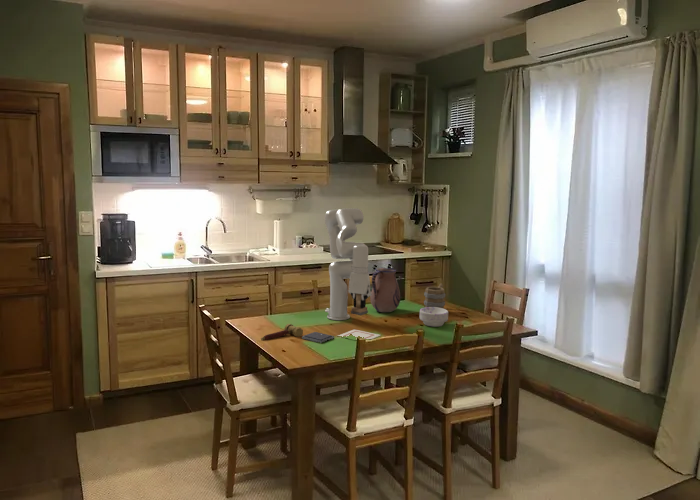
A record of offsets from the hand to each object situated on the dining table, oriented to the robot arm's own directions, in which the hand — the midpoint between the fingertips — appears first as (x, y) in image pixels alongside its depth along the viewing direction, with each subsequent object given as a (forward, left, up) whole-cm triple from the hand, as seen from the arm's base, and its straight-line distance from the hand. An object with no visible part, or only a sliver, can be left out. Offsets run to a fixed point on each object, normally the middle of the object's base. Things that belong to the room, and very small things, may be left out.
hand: (359, 306), depth 278 cm
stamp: (0, 0, -3) cm, 3 cm away
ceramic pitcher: (-17, +50, -15) cm, 55 cm away
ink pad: (-13, -16, -15) cm, 25 cm away
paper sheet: (0, 0, -15) cm, 15 cm away
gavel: (-30, -25, -16) cm, 42 cm away
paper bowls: (+19, +43, -15) cm, 49 cm away
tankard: (+6, +72, -15) cm, 74 cm away
